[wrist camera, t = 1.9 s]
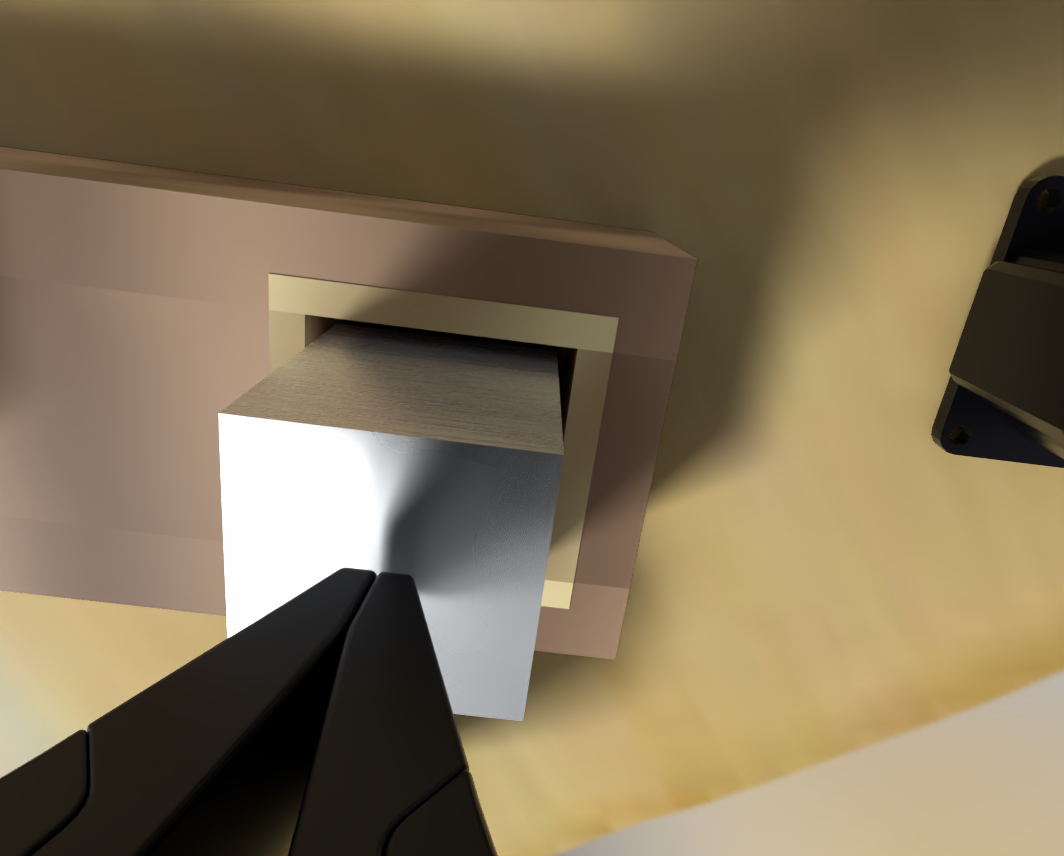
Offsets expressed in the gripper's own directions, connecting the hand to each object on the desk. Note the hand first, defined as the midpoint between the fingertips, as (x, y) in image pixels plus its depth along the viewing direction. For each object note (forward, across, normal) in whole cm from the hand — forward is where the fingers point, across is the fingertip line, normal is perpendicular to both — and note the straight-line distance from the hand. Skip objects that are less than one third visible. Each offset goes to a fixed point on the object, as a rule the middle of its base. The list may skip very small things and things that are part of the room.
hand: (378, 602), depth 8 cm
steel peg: (+5, 0, 0) cm, 5 cm away
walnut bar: (+10, +6, 0) cm, 11 cm away
